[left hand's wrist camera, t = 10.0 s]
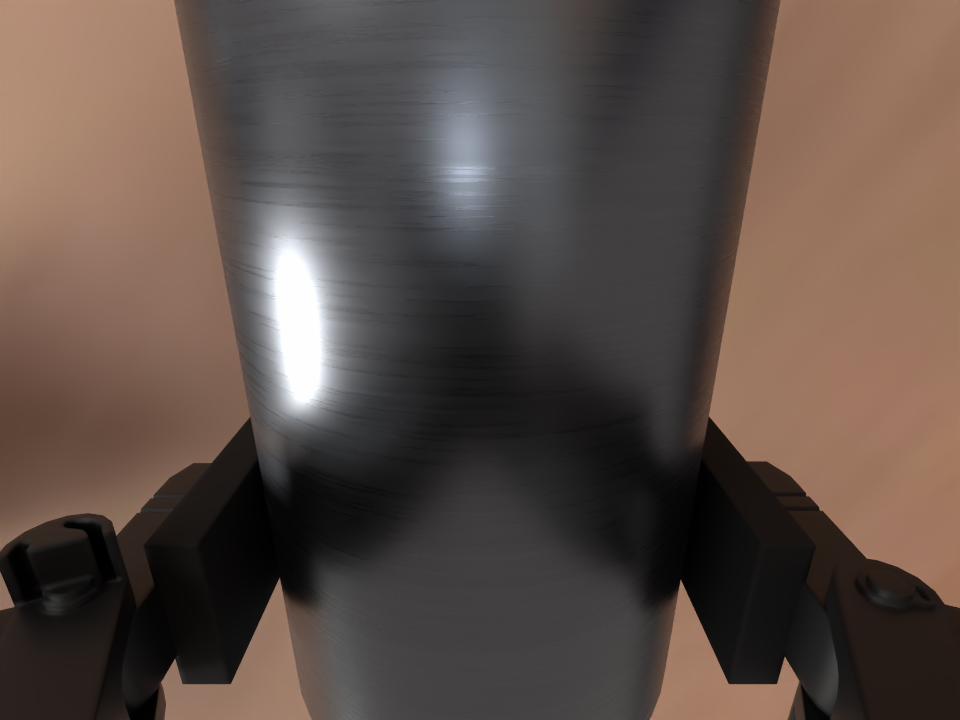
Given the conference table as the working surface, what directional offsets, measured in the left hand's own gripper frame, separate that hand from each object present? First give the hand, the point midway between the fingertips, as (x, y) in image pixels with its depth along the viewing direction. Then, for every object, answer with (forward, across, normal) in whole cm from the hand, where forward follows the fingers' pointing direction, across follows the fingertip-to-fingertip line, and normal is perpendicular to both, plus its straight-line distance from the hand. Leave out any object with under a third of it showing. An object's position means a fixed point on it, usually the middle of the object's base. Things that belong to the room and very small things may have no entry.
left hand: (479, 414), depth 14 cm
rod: (+1, 0, -10) cm, 10 cm away
